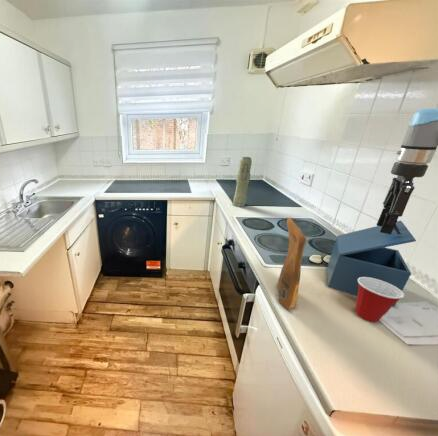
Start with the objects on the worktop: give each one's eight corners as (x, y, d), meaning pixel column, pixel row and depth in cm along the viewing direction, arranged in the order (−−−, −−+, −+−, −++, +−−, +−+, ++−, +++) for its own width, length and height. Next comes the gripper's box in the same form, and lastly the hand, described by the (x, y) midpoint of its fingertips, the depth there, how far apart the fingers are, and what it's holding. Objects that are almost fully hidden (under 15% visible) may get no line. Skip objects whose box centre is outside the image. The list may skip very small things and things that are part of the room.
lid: (401, 222, 86) (393, 205, 86) (416, 241, 73) (406, 221, 73) (337, 237, 99) (330, 222, 99) (340, 255, 86) (331, 239, 85)
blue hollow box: (384, 280, 95) (398, 250, 89) (394, 306, 81) (411, 273, 76) (327, 265, 104) (337, 237, 99) (328, 286, 91) (339, 256, 86)
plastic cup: (388, 314, 78) (403, 284, 74) (389, 334, 71) (406, 303, 66) (347, 298, 85) (358, 270, 80) (344, 316, 78) (356, 286, 73)
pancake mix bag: (274, 310, 80) (294, 236, 69) (272, 277, 96) (287, 214, 85) (297, 316, 78) (321, 240, 67) (291, 282, 94) (309, 216, 83)
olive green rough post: (243, 202, 182) (251, 156, 169) (247, 207, 171) (255, 158, 158) (231, 202, 183) (238, 156, 170) (234, 207, 173) (241, 158, 159)
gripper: (388, 157, 83) (365, 218, 92) (402, 166, 69) (373, 236, 78) (419, 159, 79) (391, 222, 88) (440, 169, 65) (405, 243, 74)
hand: (383, 229), depth 83 cm, fingers closed on lid, 6 cm apart
